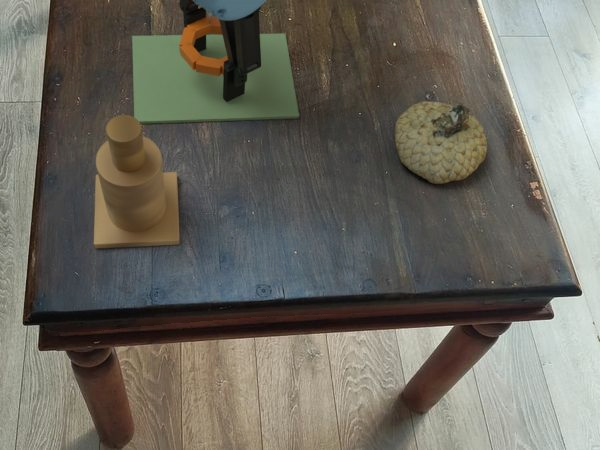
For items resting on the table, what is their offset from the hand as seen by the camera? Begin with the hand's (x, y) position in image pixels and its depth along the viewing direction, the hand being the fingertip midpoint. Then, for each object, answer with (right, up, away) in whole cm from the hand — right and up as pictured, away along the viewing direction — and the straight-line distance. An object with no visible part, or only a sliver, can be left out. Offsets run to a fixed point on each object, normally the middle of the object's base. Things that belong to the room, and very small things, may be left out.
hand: (214, 73), depth 89 cm
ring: (+1, +2, -4) cm, 5 cm away
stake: (-7, -18, -10) cm, 22 cm away
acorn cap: (+28, -10, -1) cm, 29 cm away
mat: (0, 0, +1) cm, 1 cm away
